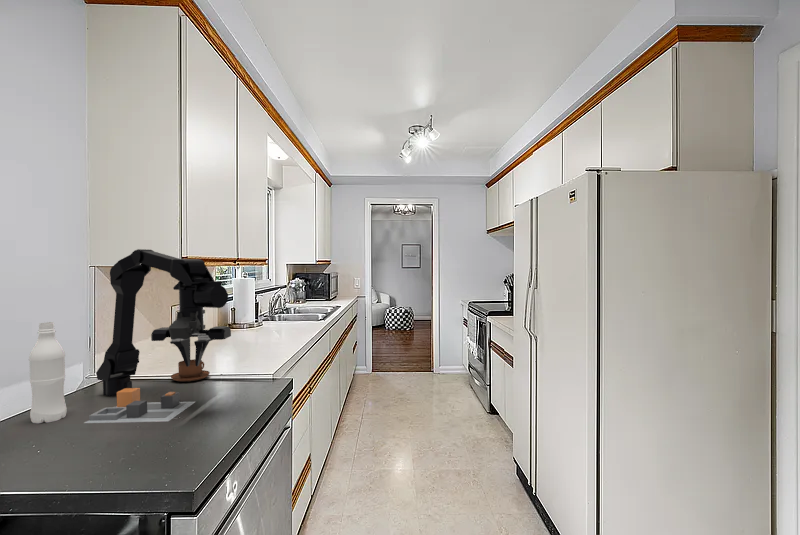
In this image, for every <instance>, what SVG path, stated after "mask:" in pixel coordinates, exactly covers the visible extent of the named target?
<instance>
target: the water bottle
mask: <svg viewBox="0 0 800 535" xmlns="http://www.w3.org/2000/svg"><path fill="white" fill-rule="evenodd" d="M37 331H38V332H37V334H38V338H37V340H36V343H35V344H34V346H33V347H32V349H31V351H30V353H29V356H28V361H29V383H30V388H31V394H32V395H31V405H30V406H31V407H30V410H29V411H30V412H29V414H30V415H29V417H30V421H31V423H33V424H42V423H51V422H57V421H60V420H61V419H63V418H65V417H66V415H67V410H68V409H67V405H66V401H65V380H66V379H65V378H66V362H65V361H66V360H65V357H66V353H65V350H64V348H63V346H62V345H61V344H60V342H59V341H58V339H57V337H56V332H57V331H56V330H55V323H54V321H53V322H51V321H49V322H48V321H47V322H39V323H38V330H37Z"/></svg>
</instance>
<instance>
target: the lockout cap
mask: <svg viewBox="0 0 800 535" xmlns="http://www.w3.org/2000/svg"><path fill="white" fill-rule="evenodd" d="M134 401H141V388H140V387H132V388H125V389H123V390H121V391H118V392H117V396H116V406H117V407H126V405H128V404H130V403H132V402H134Z"/></svg>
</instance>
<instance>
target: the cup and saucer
mask: <svg viewBox="0 0 800 535" xmlns="http://www.w3.org/2000/svg"><path fill="white" fill-rule="evenodd" d="M204 368H205V362H204V361H203V360H202V359H201V361H200V364H199V366H196V364H195V359H190V366H188V367H187V366H186V364H185V362H184V360H181V361H178V368H177V369H178V372H175V373H173V374H171V375H170V378H171V379H172V380H173V381H176V382H179V383H180V382H181V383H185V382H196V381H200V380H203V379H205V378H207V377H209V375H210V371H209V370H205V369H204Z"/></svg>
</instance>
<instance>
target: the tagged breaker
mask: <svg viewBox="0 0 800 535" xmlns="http://www.w3.org/2000/svg"><path fill="white" fill-rule="evenodd" d="M180 395H181V393H180V391H168V392H167V393H164V394H163V395H161V396H160V402H161V408H173V407H175V406H176V405H178V404H179V403H180V402H181V401H180Z"/></svg>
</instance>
